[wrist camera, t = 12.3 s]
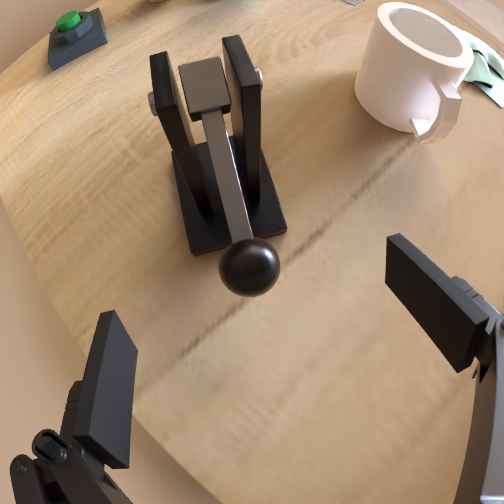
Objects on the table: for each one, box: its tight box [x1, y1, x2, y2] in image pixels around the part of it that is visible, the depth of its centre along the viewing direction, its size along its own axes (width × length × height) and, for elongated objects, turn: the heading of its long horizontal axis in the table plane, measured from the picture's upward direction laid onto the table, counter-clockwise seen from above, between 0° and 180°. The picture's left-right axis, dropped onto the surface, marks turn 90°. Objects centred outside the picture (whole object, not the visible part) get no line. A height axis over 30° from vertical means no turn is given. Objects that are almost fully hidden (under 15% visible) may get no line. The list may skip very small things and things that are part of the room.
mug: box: [354, 2, 474, 144], centre depth 25 cm, size 14×10×11 cm
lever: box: [178, 56, 280, 297], centre depth 17 cm, size 13×3×3 cm, turn 15°
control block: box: [48, 8, 108, 70], centre depth 34 cm, size 10×9×4 cm
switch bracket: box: [148, 35, 287, 256], centre depth 21 cm, size 10×8×15 cm
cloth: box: [451, 25, 504, 108], centre depth 33 cm, size 20×22×2 cm
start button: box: [56, 11, 81, 32], centre depth 31 cm, size 4×4×2 cm
